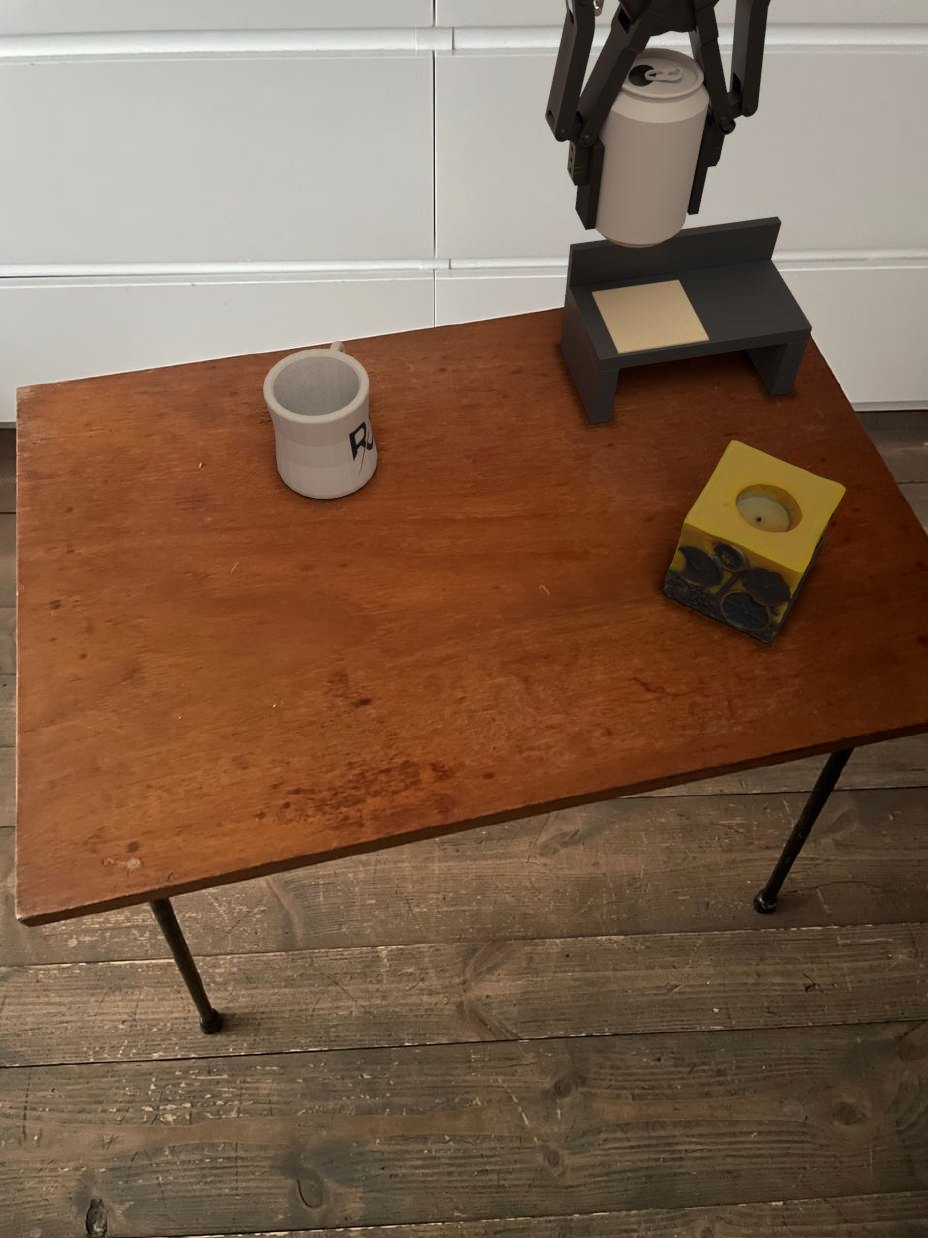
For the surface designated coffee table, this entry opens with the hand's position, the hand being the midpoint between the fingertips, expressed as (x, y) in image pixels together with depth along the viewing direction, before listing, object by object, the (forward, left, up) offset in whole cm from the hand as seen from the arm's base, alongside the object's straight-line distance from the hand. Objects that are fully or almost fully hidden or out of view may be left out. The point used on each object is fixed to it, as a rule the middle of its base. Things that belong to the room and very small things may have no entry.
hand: (636, 210), depth 80 cm
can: (0, 0, -1) cm, 1 cm away
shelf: (-4, -10, -23) cm, 26 cm away
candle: (-16, +13, -23) cm, 31 cm away
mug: (+22, +12, -23) cm, 34 cm away
